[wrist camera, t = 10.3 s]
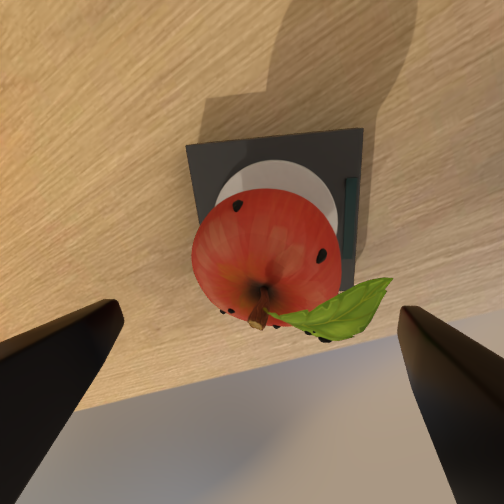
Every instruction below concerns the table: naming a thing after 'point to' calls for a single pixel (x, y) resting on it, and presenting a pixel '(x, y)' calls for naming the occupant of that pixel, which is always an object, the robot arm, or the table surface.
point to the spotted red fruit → (280, 266)
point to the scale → (288, 177)
